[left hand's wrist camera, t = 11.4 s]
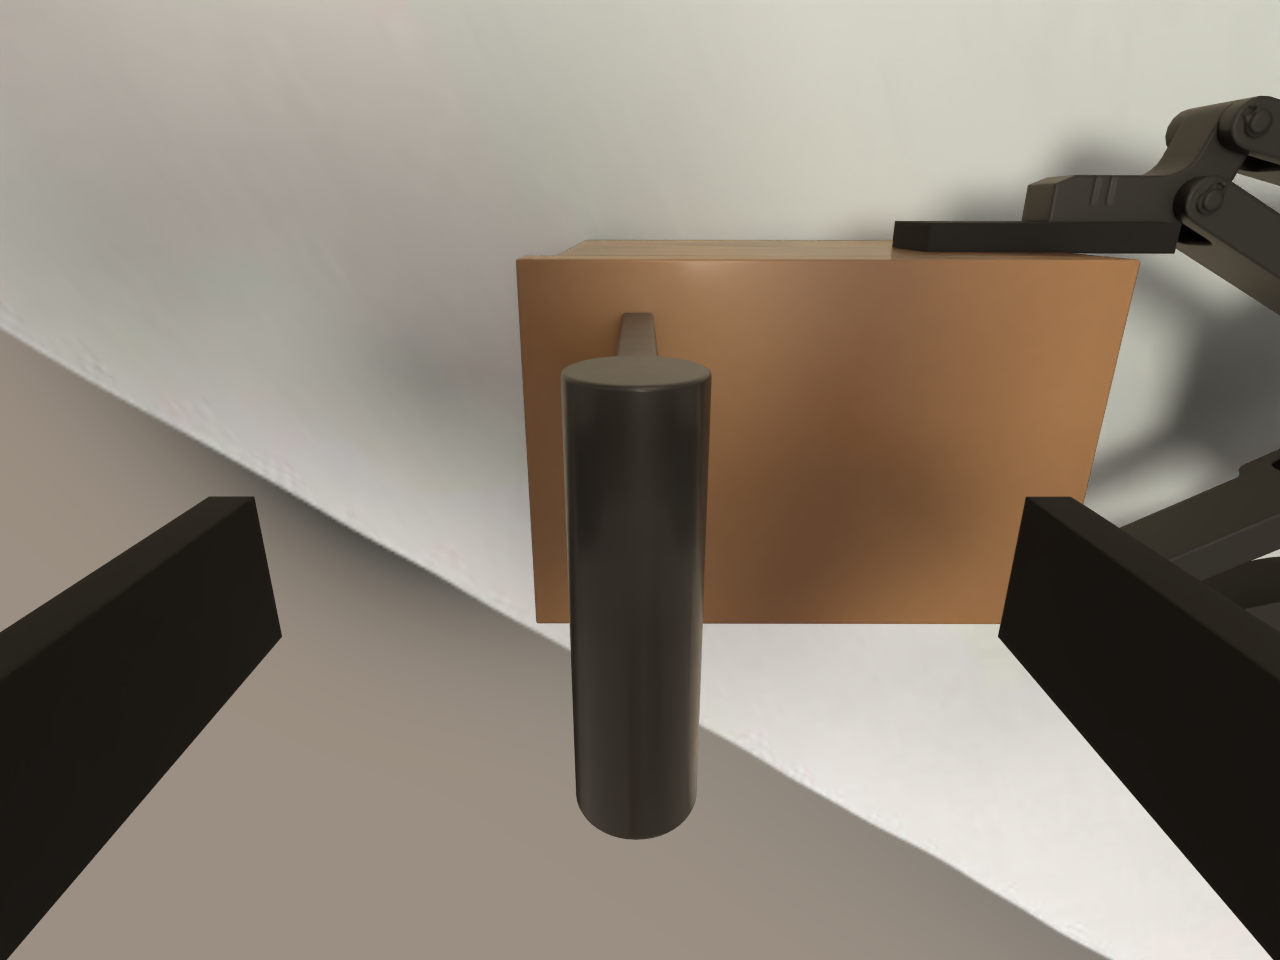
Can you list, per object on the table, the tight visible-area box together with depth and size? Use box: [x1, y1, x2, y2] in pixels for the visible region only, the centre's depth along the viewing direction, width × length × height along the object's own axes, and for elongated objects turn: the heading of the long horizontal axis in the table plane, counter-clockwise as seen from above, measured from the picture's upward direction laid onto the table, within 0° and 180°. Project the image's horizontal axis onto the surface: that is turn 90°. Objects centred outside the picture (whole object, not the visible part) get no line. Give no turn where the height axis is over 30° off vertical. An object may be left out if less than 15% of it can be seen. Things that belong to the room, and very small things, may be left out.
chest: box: [557, 240, 1102, 257], centre depth 23 cm, size 13×9×10 cm
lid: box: [516, 256, 1140, 840], centre depth 14 cm, size 14×9×9 cm
